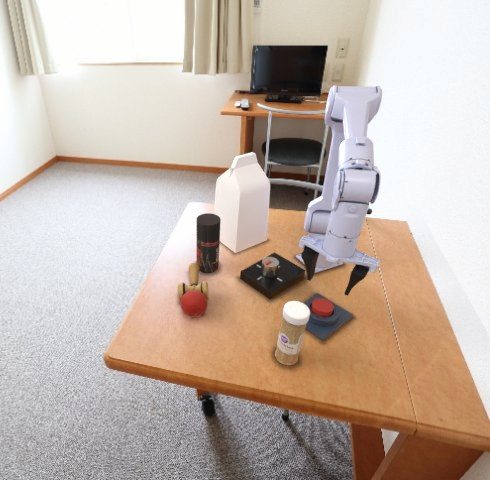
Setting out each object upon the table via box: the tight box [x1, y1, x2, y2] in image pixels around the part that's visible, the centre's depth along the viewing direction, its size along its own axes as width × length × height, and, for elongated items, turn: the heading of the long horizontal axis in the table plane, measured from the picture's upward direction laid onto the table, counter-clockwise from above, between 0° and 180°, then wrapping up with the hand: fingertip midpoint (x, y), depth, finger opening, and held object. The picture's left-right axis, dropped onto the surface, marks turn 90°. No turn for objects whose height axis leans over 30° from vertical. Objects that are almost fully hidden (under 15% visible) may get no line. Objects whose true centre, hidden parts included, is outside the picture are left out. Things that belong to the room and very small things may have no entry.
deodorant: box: [196, 212, 221, 275], centre depth 91 cm, size 6×6×15 cm
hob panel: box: [239, 252, 306, 300], centre depth 89 cm, size 13×10×3 cm
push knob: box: [311, 298, 334, 317], centre depth 77 cm, size 4×4×2 cm
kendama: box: [177, 262, 210, 318], centre depth 85 cm, size 8×6×18 cm
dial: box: [261, 256, 279, 278], centre depth 87 cm, size 4×4×4 cm
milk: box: [213, 151, 271, 254], centre depth 99 cm, size 12×12×26 cm
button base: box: [303, 292, 354, 342], centre depth 78 cm, size 11×9×2 cm
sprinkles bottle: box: [274, 300, 310, 366], centre depth 66 cm, size 5×5×14 cm
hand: (328, 285), depth 73 cm, fingers open, 7 cm apart
